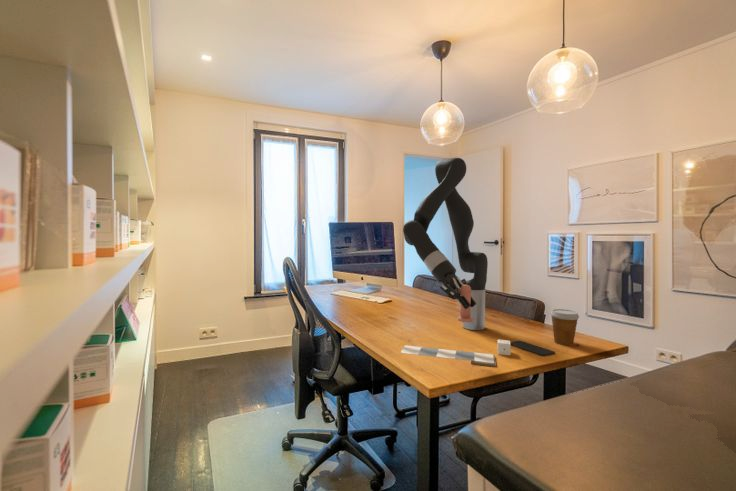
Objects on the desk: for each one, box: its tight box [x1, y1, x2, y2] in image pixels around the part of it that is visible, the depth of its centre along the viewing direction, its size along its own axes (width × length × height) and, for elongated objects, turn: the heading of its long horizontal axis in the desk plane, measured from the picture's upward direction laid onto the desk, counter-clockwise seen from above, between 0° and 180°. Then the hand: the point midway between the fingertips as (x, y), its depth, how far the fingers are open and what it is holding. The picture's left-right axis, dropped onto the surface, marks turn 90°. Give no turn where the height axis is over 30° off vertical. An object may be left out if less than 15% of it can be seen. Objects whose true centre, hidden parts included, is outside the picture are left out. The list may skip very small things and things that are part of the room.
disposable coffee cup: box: [549, 308, 580, 346], centre depth 132 cm, size 10×10×12 cm
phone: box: [510, 340, 556, 357], centre depth 125 cm, size 7×1×15 cm
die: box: [496, 339, 512, 356], centre depth 120 cm, size 4×4×4 cm
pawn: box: [457, 284, 473, 323], centre depth 114 cm, size 5×5×12 cm
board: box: [400, 344, 497, 368], centre depth 117 cm, size 9×31×1 cm, turn 73°
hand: (471, 306), depth 113 cm, fingers closed on pawn, 3 cm apart
